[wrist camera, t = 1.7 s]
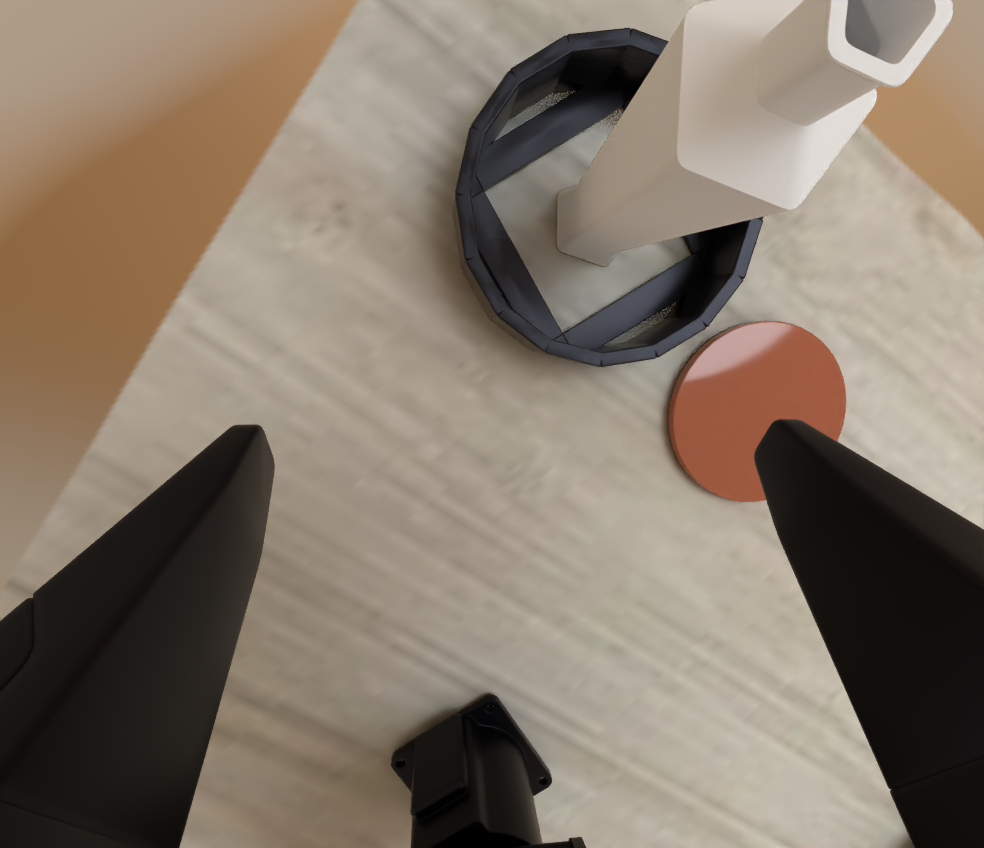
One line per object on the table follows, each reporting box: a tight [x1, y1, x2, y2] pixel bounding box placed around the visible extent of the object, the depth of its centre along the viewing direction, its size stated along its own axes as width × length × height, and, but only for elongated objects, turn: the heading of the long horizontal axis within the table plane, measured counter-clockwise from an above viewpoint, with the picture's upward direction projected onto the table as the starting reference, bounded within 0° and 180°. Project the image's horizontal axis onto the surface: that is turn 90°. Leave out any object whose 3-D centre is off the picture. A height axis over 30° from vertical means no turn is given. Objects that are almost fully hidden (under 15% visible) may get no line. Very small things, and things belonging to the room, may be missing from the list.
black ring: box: [453, 28, 763, 367], centre depth 21 cm, size 12×12×3 cm
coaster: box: [668, 321, 846, 502], centre depth 25 cm, size 9×9×1 cm
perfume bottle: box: [557, 0, 953, 267], centre depth 15 cm, size 5×4×15 cm
